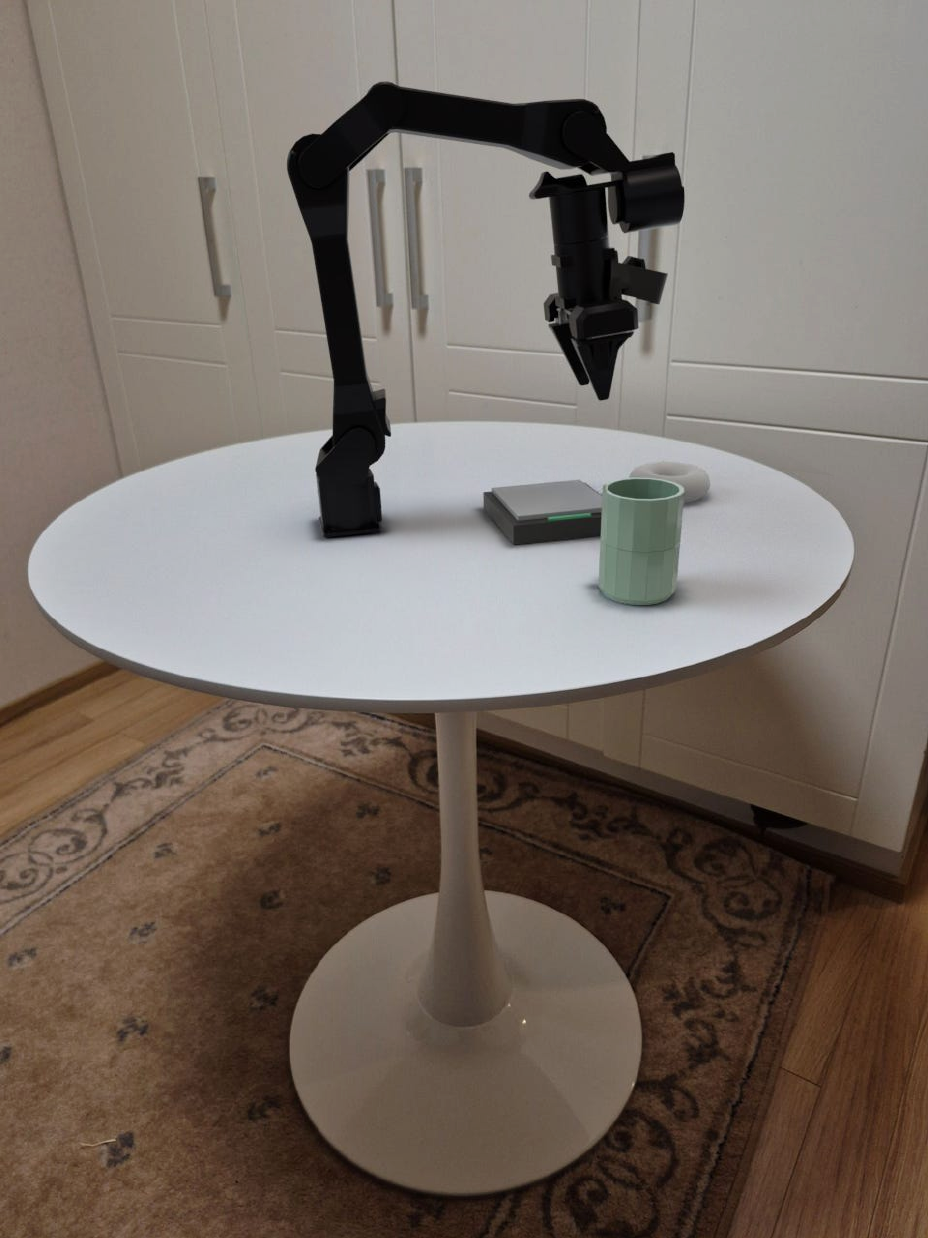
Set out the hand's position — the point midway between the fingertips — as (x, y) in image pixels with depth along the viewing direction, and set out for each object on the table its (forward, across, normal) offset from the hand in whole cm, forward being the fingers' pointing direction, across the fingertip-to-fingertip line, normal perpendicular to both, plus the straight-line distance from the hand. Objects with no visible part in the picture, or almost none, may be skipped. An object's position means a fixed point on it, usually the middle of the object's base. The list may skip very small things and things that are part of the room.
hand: (593, 391), depth 96 cm
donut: (+16, +5, -10) cm, 19 cm away
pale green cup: (+14, -24, +3) cm, 27 cm away
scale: (+14, -2, +7) cm, 15 cm away
